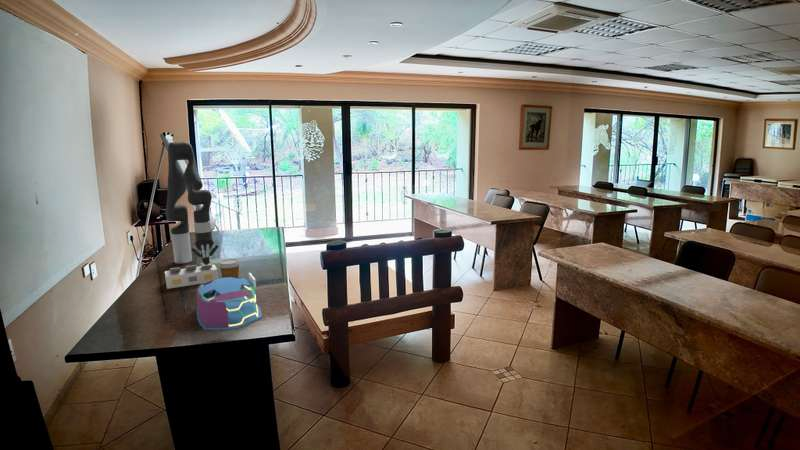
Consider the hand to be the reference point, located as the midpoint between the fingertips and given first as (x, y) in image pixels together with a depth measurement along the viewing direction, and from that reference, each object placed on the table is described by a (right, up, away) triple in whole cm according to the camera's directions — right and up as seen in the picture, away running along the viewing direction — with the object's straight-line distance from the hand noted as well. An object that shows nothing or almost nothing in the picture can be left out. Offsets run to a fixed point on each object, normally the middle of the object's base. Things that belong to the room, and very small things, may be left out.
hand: (206, 264), depth 218 cm
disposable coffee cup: (+14, -10, -4) cm, 18 cm away
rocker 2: (-8, -1, -1) cm, 8 cm away
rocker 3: (-1, -1, +3) cm, 3 cm away
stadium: (+26, -17, -37) cm, 48 cm away
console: (-7, -9, +1) cm, 12 cm away
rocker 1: (-14, -2, -4) cm, 14 cm away
